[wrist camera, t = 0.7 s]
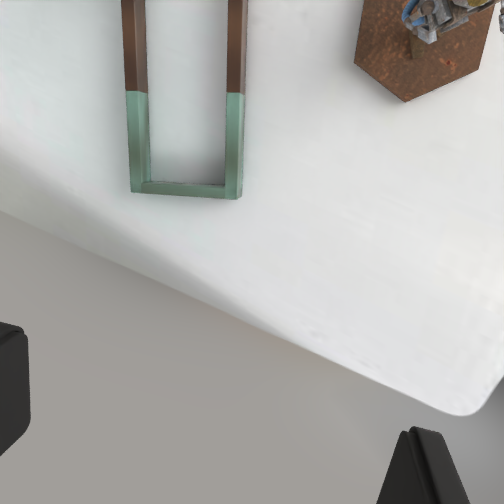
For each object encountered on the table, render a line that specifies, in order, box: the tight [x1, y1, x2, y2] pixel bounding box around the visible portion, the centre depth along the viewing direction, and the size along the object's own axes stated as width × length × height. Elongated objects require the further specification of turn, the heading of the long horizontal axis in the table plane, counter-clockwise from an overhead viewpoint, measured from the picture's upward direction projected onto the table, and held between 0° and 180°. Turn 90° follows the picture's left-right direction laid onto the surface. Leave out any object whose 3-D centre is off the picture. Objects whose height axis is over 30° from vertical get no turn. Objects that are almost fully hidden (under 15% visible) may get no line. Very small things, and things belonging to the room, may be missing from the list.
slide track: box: [121, 0, 248, 200], centre depth 32 cm, size 24×10×2 cm, turn 178°
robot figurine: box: [354, 0, 504, 102], centre depth 24 cm, size 11×9×12 cm
